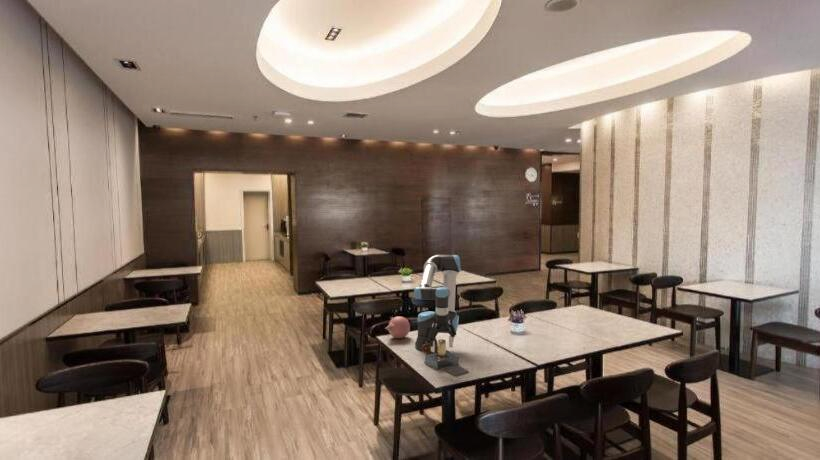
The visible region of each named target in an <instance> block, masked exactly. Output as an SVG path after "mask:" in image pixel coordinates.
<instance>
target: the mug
mask: <svg viewBox="0 0 820 460" xmlns="http://www.w3.org/2000/svg"><path fill="white" fill-rule="evenodd" d="M436 340H437V339H436ZM436 340H434V341H435V352H432V351H431V346H430V341H429V340H426V342H425V344H423V345H422V351H421V352H423V353H425V355H428V354H432V353H436V352H438V345H437V343H438V340H437V341H436ZM424 347H425V349H424ZM425 355H424V356H425Z"/></svg>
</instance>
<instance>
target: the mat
mask: <svg viewBox="0 0 820 460" xmlns="http://www.w3.org/2000/svg"><path fill="white" fill-rule="evenodd" d="M443 371H444V372H446V373H448V374H450V375H451V376H454V377H458V376H461V375H465V374H468V373H469V372H470V371H469V370H467V369H466V368H464V367H462V366H460V365H459V364H458V365H455V366H451V367H447V368H444V369H443Z"/></svg>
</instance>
